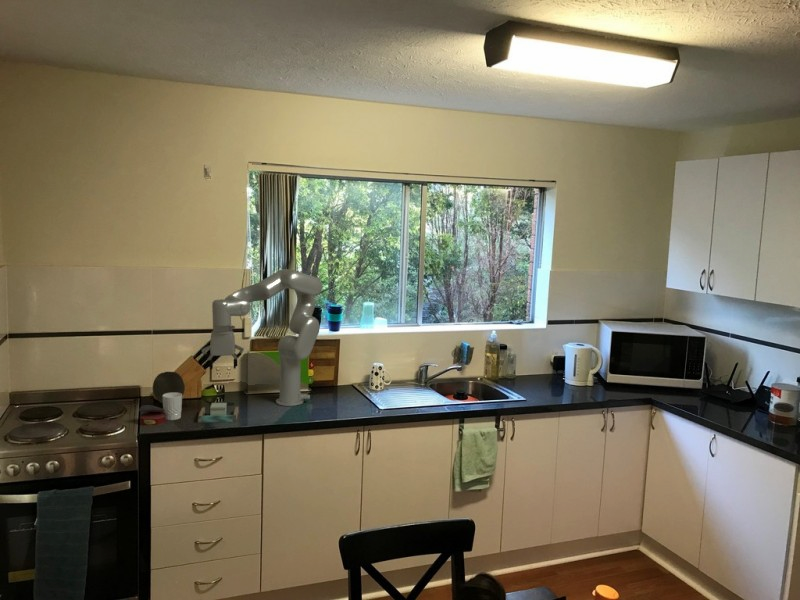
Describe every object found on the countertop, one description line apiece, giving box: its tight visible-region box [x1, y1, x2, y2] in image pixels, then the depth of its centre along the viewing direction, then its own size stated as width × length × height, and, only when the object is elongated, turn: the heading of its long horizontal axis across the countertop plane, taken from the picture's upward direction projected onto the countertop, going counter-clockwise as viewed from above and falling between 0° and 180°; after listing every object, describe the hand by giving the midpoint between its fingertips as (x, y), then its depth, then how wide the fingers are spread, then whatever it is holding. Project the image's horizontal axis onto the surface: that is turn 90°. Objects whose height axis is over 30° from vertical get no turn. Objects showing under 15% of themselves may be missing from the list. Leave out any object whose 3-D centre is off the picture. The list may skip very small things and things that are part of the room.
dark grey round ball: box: [152, 371, 186, 405], centre depth 290 cm, size 14×14×15 cm
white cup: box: [162, 392, 183, 421], centre depth 272 cm, size 8×8×10 cm
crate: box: [209, 402, 228, 416], centre depth 273 cm, size 6×6×6 cm
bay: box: [197, 406, 239, 423], centre depth 275 cm, size 15×13×2 cm
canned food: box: [138, 404, 166, 427], centre depth 266 cm, size 11×10×10 cm
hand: (223, 368), depth 274 cm, fingers open, 9 cm apart
